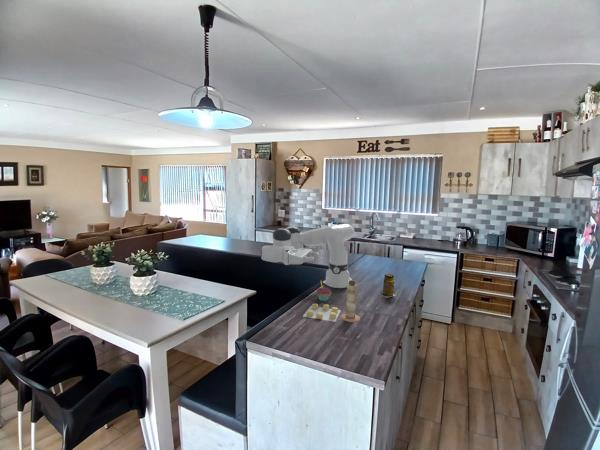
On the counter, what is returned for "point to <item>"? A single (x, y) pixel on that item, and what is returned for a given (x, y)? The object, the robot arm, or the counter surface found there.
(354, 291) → the pepper mill
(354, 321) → the coaster
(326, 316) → the mat
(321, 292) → the cupcake
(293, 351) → the counter surface
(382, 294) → the condiment
